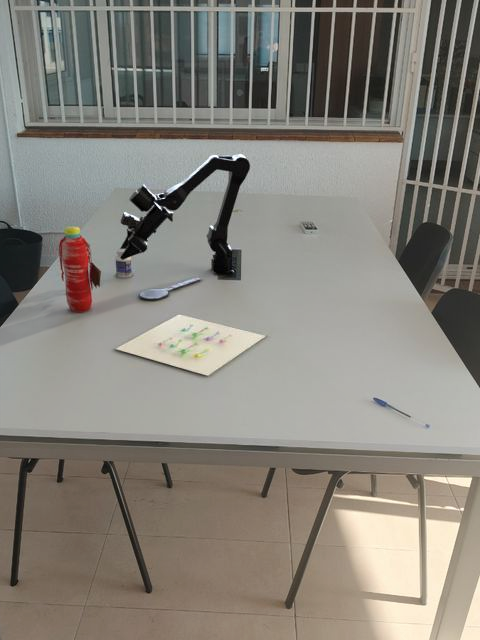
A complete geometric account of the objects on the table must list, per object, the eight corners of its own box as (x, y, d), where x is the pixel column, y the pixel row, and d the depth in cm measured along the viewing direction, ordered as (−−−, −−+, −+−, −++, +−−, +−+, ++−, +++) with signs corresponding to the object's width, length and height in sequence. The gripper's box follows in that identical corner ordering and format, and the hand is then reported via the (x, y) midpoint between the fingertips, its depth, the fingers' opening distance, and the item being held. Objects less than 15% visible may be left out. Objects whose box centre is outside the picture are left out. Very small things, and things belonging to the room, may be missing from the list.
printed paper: (207, 376, 176) (207, 371, 176) (115, 349, 190) (114, 345, 189) (265, 337, 198) (266, 332, 198) (179, 315, 212) (178, 310, 211)
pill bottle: (129, 278, 241) (127, 252, 237) (114, 277, 242) (112, 251, 237) (133, 273, 246) (132, 248, 241) (119, 272, 246) (117, 247, 242)
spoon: (190, 277, 243) (190, 275, 242) (207, 282, 238) (207, 280, 238) (134, 296, 226) (134, 294, 225) (152, 302, 221) (151, 300, 221)
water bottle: (105, 304, 220) (99, 223, 207) (104, 313, 213) (96, 230, 200) (66, 304, 219) (57, 224, 206) (63, 314, 212) (54, 231, 199)
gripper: (132, 198, 240) (102, 231, 244) (135, 211, 224) (102, 246, 228) (156, 220, 245) (126, 252, 249) (160, 235, 229) (128, 269, 233)
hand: (120, 254), depth 240 cm, fingers open, 9 cm apart
